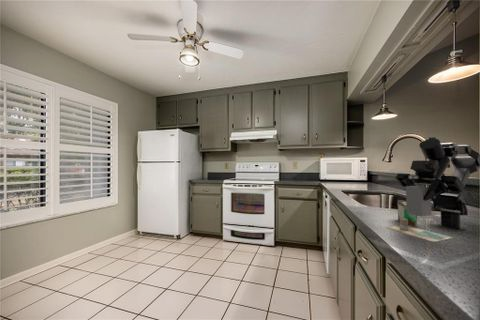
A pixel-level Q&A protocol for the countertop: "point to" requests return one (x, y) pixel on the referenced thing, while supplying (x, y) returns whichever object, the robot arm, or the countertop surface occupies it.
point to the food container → (406, 214)
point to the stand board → (418, 231)
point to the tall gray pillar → (417, 201)
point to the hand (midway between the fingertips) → (415, 198)
